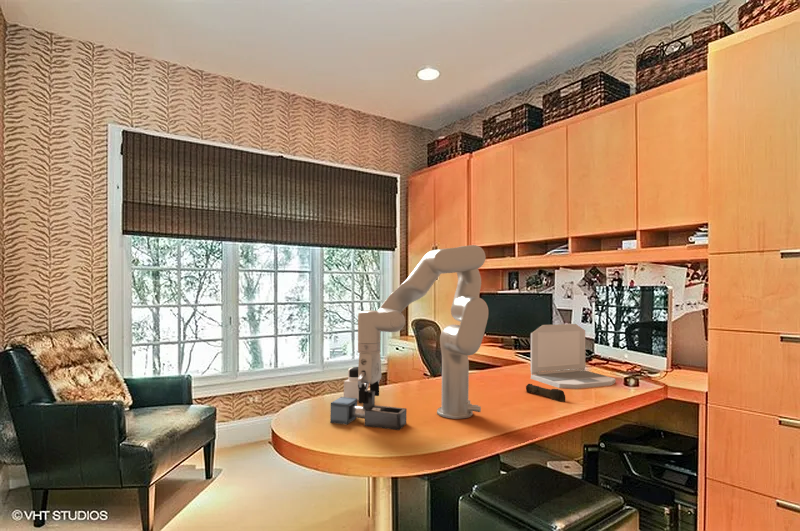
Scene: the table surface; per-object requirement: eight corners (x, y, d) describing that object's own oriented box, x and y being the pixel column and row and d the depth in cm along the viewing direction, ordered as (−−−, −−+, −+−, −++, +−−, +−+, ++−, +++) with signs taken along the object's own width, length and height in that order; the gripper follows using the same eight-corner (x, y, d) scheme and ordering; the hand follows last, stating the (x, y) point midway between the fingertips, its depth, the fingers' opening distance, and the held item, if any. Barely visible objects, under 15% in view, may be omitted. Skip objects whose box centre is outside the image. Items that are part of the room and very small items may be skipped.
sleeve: (406, 423, 152) (406, 408, 152) (399, 430, 145) (400, 414, 145) (372, 419, 156) (372, 405, 156) (364, 426, 149) (364, 410, 149)
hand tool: (525, 393, 196) (525, 382, 196) (531, 392, 198) (532, 381, 198) (560, 404, 180) (560, 392, 180) (567, 402, 182) (567, 391, 182)
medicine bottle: (366, 396, 186) (367, 366, 187) (359, 400, 180) (360, 370, 180) (350, 394, 189) (351, 365, 189) (343, 399, 182) (343, 368, 182)
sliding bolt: (381, 418, 153) (382, 391, 153) (377, 421, 149) (378, 393, 150) (343, 414, 157) (343, 387, 158) (338, 417, 154) (339, 390, 154)
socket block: (356, 417, 158) (357, 398, 158) (346, 424, 150) (347, 404, 151) (341, 415, 160) (341, 396, 160) (330, 422, 152) (330, 402, 152)
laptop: (565, 390, 202) (565, 330, 202) (530, 379, 224) (530, 325, 225) (622, 385, 214) (622, 328, 215) (583, 374, 237) (583, 323, 237)
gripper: (370, 352, 144) (370, 407, 143) (388, 344, 160) (388, 393, 160) (348, 351, 146) (348, 405, 146) (368, 343, 163) (368, 392, 162)
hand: (369, 399), depth 153 cm, fingers open, 9 cm apart
